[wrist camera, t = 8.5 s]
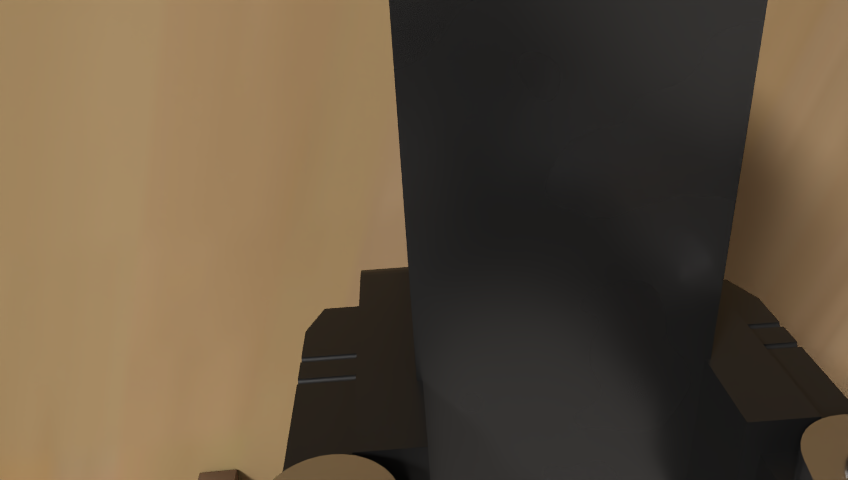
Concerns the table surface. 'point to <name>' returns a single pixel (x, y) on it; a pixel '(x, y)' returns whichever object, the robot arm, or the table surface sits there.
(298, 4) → the table surface
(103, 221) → the table surface
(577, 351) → the long dark grey beam
